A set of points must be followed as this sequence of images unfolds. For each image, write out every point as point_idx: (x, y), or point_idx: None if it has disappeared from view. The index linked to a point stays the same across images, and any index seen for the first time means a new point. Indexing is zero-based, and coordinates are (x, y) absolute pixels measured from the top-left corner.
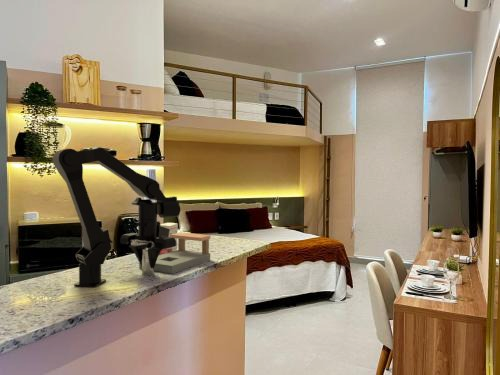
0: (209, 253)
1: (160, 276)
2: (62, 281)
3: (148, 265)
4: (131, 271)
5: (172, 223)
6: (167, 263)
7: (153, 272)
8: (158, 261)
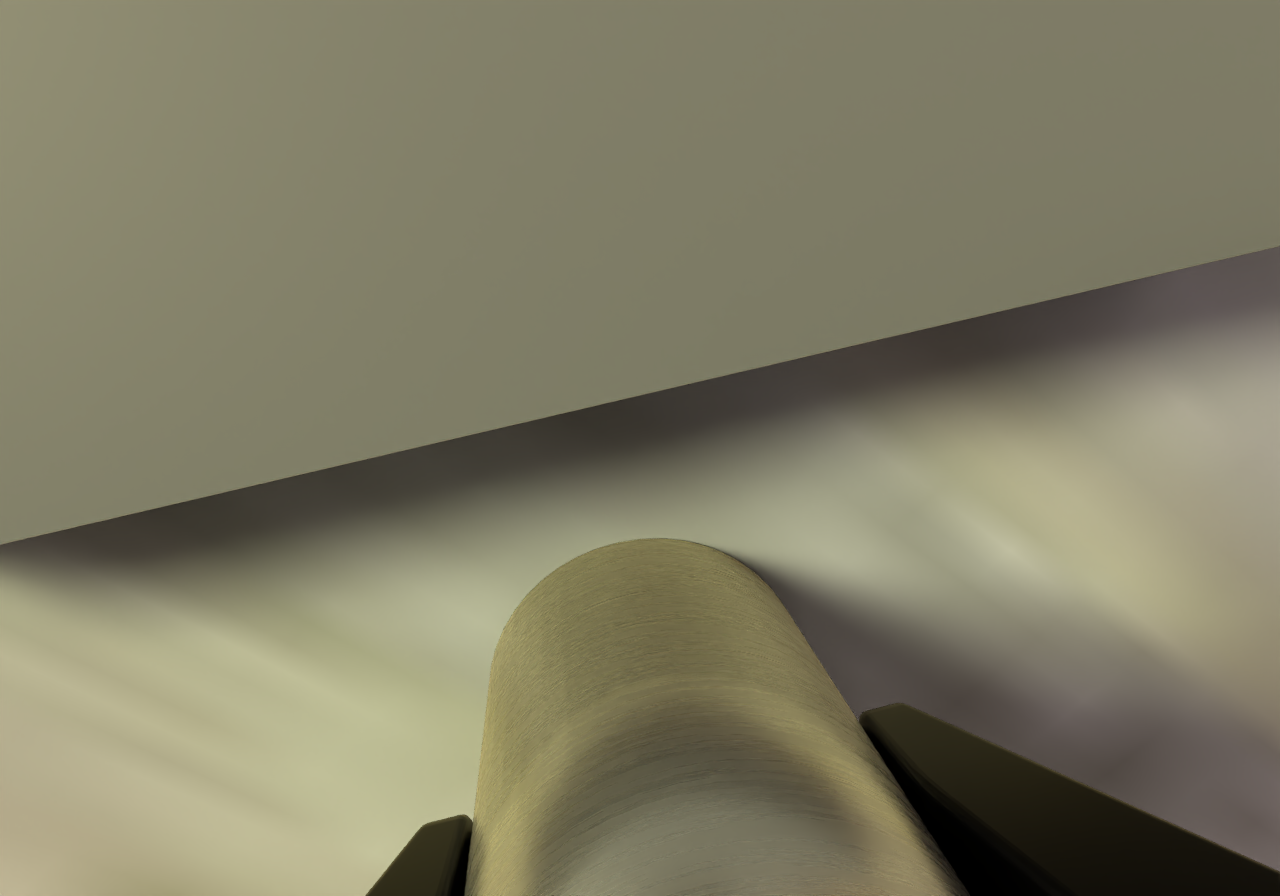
0: None
1: (1111, 601)
2: None
3: None
4: (84, 866)
5: None
6: (983, 66)
7: (777, 599)
8: (326, 91)
